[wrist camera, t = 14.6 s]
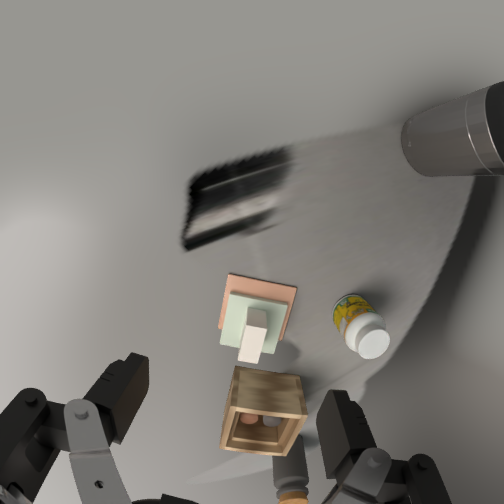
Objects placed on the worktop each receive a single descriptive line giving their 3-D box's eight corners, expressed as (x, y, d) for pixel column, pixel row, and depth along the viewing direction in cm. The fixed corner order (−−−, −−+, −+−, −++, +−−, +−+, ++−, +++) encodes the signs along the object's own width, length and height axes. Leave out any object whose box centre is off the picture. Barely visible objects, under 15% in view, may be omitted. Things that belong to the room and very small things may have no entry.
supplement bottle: (328, 328, 37) (347, 366, 28) (334, 293, 36) (357, 324, 26) (363, 327, 37) (388, 362, 28) (369, 293, 36) (399, 322, 26)
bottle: (279, 452, 43) (284, 512, 29) (266, 438, 42) (268, 503, 28) (307, 443, 43) (317, 503, 28) (295, 428, 42) (304, 494, 27)
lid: (287, 302, 36) (292, 323, 30) (273, 350, 37) (275, 375, 31) (230, 291, 36) (225, 310, 30) (220, 340, 37) (214, 364, 31)
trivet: (296, 287, 36) (296, 288, 35) (281, 339, 37) (281, 340, 37) (228, 273, 35) (228, 274, 35) (218, 327, 37) (217, 328, 37)
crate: (299, 375, 39) (307, 415, 30) (282, 417, 41) (285, 456, 32) (235, 365, 38) (230, 405, 30) (224, 409, 41) (219, 448, 32)
